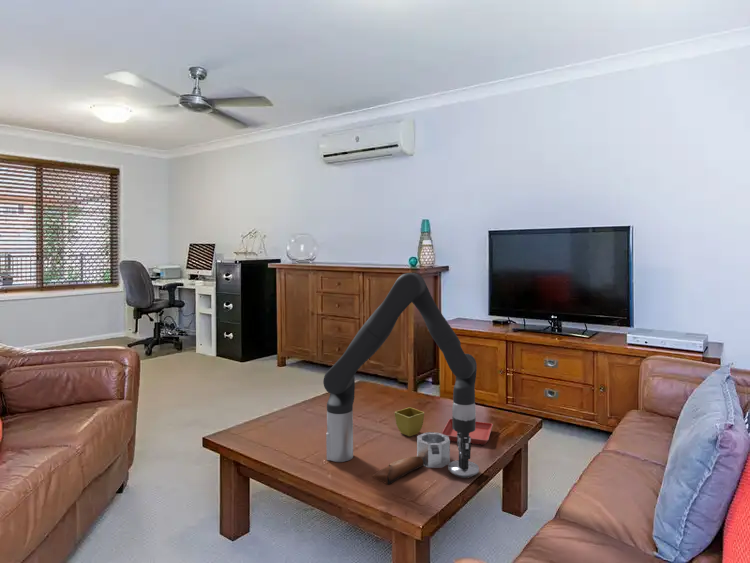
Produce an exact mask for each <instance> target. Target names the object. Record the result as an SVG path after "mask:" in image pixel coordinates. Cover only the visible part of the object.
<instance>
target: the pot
mask: <svg viewBox="0 0 750 563" xmlns="http://www.w3.org/2000/svg"><path fill="white" fill-rule="evenodd" d="M441 433H442V432H441ZM441 433H440V432H434V431H428V432H424V433H421V434H419V435H418V434H417V436H416V456H419V457H421V458H422V460H423V466H424V467H426V468H429V469H430V468H433V469H434V468H436V469H437V468H442V469H443V468H444V467H446V466H448V465H449V463H450V462H451V441H450V440H449V437H448V436H446V435H444V434H441ZM423 466H422V467H423Z"/></svg>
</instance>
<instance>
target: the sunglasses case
mask: <svg viewBox="0 0 750 563" xmlns="http://www.w3.org/2000/svg"><path fill="white" fill-rule="evenodd" d="M420 467H423V460H422V458H421V457H419V456H417V455H416V456H408V457H405V458H401V459H399V460H395V461H393V462H391V463H389V464H388V465H387V466H385V467H382V468H381V469H380V470H378V471H376V472H375V473H374V474H372V475H371V477H372V479H376V480H378V481H380V482H383V483H385V484H386V485H390V484H392V483H394V482H395V481H397V480H399V479H400V478H401V477H402V476H403V477H404V476H405V475H407V474H409V473H410V472H414V470H417V469H418V468H420Z"/></svg>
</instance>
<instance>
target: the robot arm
mask: <svg viewBox="0 0 750 563" xmlns="http://www.w3.org/2000/svg"><path fill="white" fill-rule="evenodd" d="M411 304H413V305H414V306H415V308H416V309H417V310H418V311H419V313H420V315H421V316H422V319H423V321H424V323H425V326H426V328H427V331H428V333H429V334H430V336H431V338H432V340H434V342H435V344H436V345H437V347H438V348H439V350H440V351H441V352H442V355H443V357H444V359H445V361H446V364H447V365H448V367H449V369H450V371H451V373H452V374H453V375H454V376H455V382H454V386H453V391H452V392H453V394H452V395H453V396H452V398H453V399H452V401H453V402H452V409H451V410H452V418H451V419H452V428H453V430H455V431H456V432H457V442H456V443H457V444H456V446H457V448H458V449H457V450H458V452H459V451H461V468H462V470H468V461H469V460H471V452H472V451H471V450H472V444H471V443H470V442H471V437H470V436H469V433H470V432H473V431H475V422H476V417H477V416H476V411H477V410H476V390H475V386H476V381H477V380H476V379H477V369H478V368H477V365H478V364H477V361H476V359H475V357H474V356H473V355H472V354H469V353H465V351H464V349H463V348H462V347H461V345H462V344H461V341H460V339H459V337H458V336H457V334H456V333H455V331H454V330H453V328H452V327H451V325H450V324H449V322H448V321H447V319H446V318H445V317H444V315H443V313H442V312H441V311H440V309H439V307H438V306H437V303H436V302H435V301H434V299H433V296H432V294H431V291H430V290H429V288H428V286H427V283H426V282H425V279H424V277H422V275H420V274H419V273H417V272H406V273H402V274H401V275H399V276H398V277H397V279H396V280H395V282H394V284H393V285H392V287H391V289H390V290H389V292H388V293H387V295H386V297H385V298H384V300H383V301H382V302H381V304H380V305H378V307H376V309H375V310H374V311H373V313H372V314H371V315H370V316H369V318H368V319H367V320H366V321H365V322H364V323H363V325H362V326H361V327H360V329H358V331H357V333H356V334H355V336H354V338H353V339H352V340H351V342H350V343H349V345H348V346H347V348H346V350H345V351H344V352H343V354H342V356H341V357H340V358H338V359H337V361H336V362H335V363H334V364H333V365H332V366H331V367H330V368H329V369H328V370H327V371H326V373H325V374H324V376H323V387H324V390H325V391H326V392H327V393H329V397H328V400H327V401H326V402H327V403H326V434H325V435H326V436H325V437H326V438H325V439H326V445H325V446H326V461H331V462H334V463H335V462H336V463H343V462H347V461H351V460H352V459H353V458H354V419H353V418H354V415H353V414H354V413H353V412H354V407H353V406H354V401H355V394H356V393H355V391H356V390H355V387H356V384H355V382H356V379H355V375H356V373H357V371H359V369H360V368H361V367H362V366H363V365H364V364H365V363H367V361H368V360H369V359H370V358H371V357H372V356H373V355H374V354H375V353H377V351H378V350H379V349H380V348H381V347H382V345H383V344H384V343H385V342H386V340H387V339H388V337H389V336H390V335H391V333H392V331H393V330H394V327H395V325H396V323H397V321H398V319H399V318H400V316H401V315H402V313H403V312H404V311H405V310H406V309H407V308H408V307H409V306H410V305H411ZM464 454H467V455H464Z"/></svg>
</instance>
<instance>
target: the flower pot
mask: <svg viewBox="0 0 750 563" xmlns="http://www.w3.org/2000/svg"><path fill="white" fill-rule="evenodd" d="M394 418H395V419H394V420H395V424H396V426H397V429H398V431H399V433H400V434H402V435H404V436H407V437H413V436H415V435H418V434H419V433H420V432H421V430H422V428H423V425H424V419H425V411H422V410H419V409H417V408H413V407H409V406H408V407H407V408H403V409H399V410H395V411H394Z"/></svg>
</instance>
